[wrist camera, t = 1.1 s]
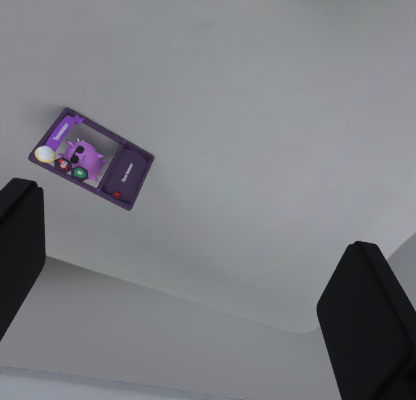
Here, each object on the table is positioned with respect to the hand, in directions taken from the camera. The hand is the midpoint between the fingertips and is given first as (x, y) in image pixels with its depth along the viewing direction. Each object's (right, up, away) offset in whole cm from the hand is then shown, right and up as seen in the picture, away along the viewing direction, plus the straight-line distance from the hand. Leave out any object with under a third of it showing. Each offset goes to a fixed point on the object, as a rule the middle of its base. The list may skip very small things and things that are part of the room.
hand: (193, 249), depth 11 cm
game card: (-10, +6, +24) cm, 27 cm away
